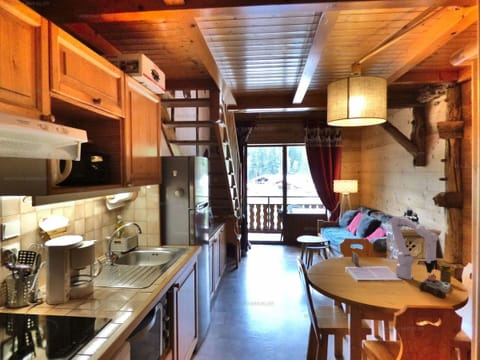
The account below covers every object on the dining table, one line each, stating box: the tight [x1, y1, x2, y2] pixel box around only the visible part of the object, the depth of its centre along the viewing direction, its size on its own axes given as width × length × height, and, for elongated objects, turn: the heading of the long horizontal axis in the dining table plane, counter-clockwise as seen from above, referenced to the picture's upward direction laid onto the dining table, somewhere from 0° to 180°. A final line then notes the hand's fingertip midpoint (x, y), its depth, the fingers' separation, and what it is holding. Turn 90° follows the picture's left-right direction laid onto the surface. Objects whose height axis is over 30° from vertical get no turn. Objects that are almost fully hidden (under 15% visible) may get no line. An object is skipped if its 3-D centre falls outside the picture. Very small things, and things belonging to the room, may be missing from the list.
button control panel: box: [422, 277, 451, 294], centre depth 201 cm, size 14×12×4 cm
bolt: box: [418, 281, 447, 299], centre depth 191 cm, size 6×5×15 cm
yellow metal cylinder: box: [439, 264, 452, 285], centre depth 209 cm, size 7×8×12 cm
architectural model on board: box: [351, 249, 359, 266], centre depth 254 cm, size 11×3×10 cm, turn 174°
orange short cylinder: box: [427, 273, 437, 283], centre depth 202 cm, size 4×4×6 cm
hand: (430, 271), depth 204 cm, fingers open, 7 cm apart
